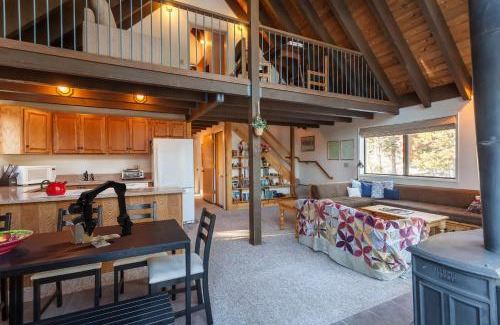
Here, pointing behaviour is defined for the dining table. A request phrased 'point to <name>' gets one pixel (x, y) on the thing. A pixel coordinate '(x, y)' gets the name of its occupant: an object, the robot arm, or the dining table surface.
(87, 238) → the wooden block
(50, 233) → the dining table surface
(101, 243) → the pivot stand
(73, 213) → the robot arm
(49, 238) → the dining table surface
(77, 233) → the small box
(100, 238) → the beam
